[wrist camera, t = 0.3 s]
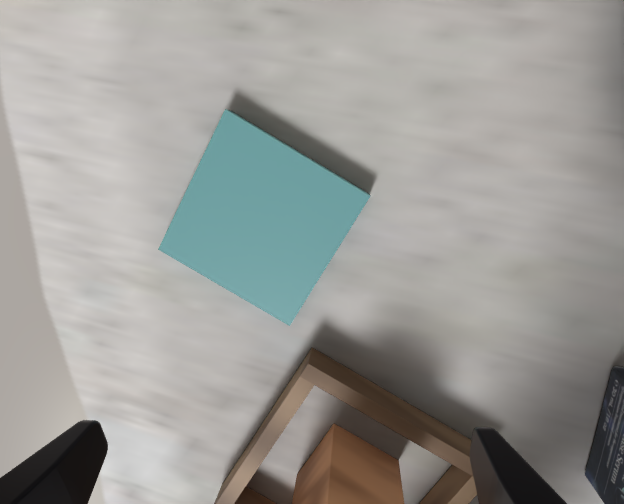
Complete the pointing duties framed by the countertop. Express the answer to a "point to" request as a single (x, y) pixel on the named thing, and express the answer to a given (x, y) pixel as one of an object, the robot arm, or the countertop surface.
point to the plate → (261, 218)
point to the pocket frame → (374, 403)
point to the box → (609, 444)
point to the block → (348, 473)
